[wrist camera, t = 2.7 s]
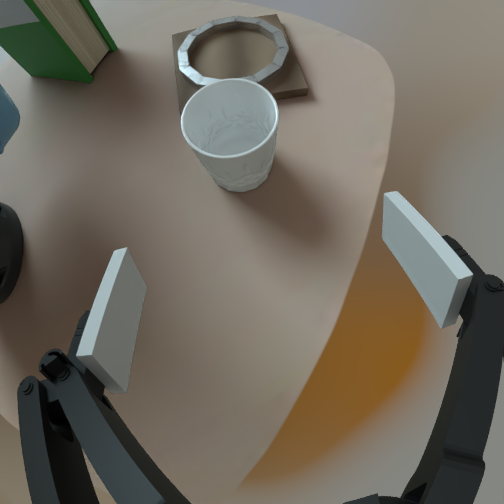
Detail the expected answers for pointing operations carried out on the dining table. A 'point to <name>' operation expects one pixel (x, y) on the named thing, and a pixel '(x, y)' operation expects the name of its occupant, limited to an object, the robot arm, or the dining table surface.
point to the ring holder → (237, 56)
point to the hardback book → (54, 37)
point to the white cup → (233, 132)
